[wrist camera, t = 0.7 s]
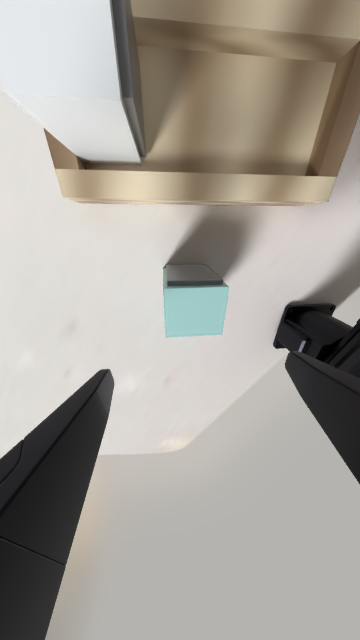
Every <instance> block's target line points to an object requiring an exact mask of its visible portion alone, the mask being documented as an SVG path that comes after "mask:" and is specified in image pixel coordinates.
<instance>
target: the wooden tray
mask: <svg viewBox="0 0 360 640" xmlns="http://www.w3.org/2000/svg"><path fill="white" fill-rule="evenodd" d="M131 7H132V14H133V22H134V29H135V36H136V43H137V50H138V57H139V64H140V77H141V91H142V104H143V118H144V132H145V146H146V157H141V161H142V165H122V164H90V163H84V162H83V161H82V160H81V159H80V158H78V157H77V156H76V155H75V154H74V153H73V152H71V151H70V150H69V149H68V148H67V147H66V146H64V145H63V144H62V143H61V142H60V141H59V140H57V139H56V138H55V137H54V136H53V135H52V134H50V133H49V132H48V131H47V130H46V129H45V128H44V131H45V135H46V138H47V142H48V146H49V149H50V153H51V156H52V160H53V164H54V167H55V171H56V175H57V178H58V182H59V185H60V189H61V193H62V196H63V197H64V198H67V199H70V200H73V201H76V202H79V203H103V204H181V205H260V206H304V205H310V204H315V203H321V202H327V201H329V198H330V195H331V192H332V189H333V187H334V184H335V181H336V178H337V175H338V172H339V170H340V167H341V164H342V161H343V158H344V155H345V153H346V150H347V147H348V144H349V141H350V138H351V136H352V133H353V130H354V127H355V124H356V121H357V119H358V116H359V113H360V0H131Z"/></svg>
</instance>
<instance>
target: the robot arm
mask: <svg viewBox="0 0 360 640" xmlns="http://www.w3.org/2000/svg"><path fill="white" fill-rule="evenodd" d="M335 308H336V306H335V305H333V304H308V305H289V306H287V307H286V308H285V311H284V314H283V316H282V319H281V322H280V325H279V328H278V331H277V334H276V337H275V340H274V343H273V346H274V347H275V348H277V349H278V348H287V349H288V350H289V351H290V352H289V353H288V356H287V359H286V362H285V368H286V370H287V372H288V374H289V376H290V377H291V379H292V381H293V383H294V385H295V387H296V388H297V390H298V392H299V394H300V396H301V397H302V399H303V400H304V402H305V403H306V404H307V406H308V408H309V409H310V411H311V412H312V414H313V415H314V417H315V418H316V420H317V421H318V423H319V424H320V425H321V427H322V429H323V430H324V432H325V433H326V435H327V436H328V438H329V439H330V440H331V442H332V444H333V445H334V447H335V448H336V450H337V451H338V452H339V454H340V456H341V457H342V458H343V460H344V462H345V463H346V465H347V466H348V468H349V469H350V470H351V472H352V473H353V475H354V476H355V478H356V479H357V481H358V482H359V484H360V319H359V320H358V321H357V324H356V325H355V326H354V327H351V326H350V325H347V324H346V323H344V322H342V321H340V320H338V319H336V318H334V317H332V314H333V312H334V310H335ZM289 309H290V310H289ZM113 389H114V379H113V376H112V374H111V371H110V369H102V370H100V371H98V372H97V373H96V374H95V375H94V376H93V377H92V378H91V379H89V380H88V381H87V382H86V383H85V384H84V385H83V386H82V387H80V388H79V389H78V390H77V391H76V392H75V393H74V394H73V395H72V396H70V397H69V398H68V399H67V400H66V401H65V402H64V403H63V404H61V405H60V406H59V407H58V408H57V409H56V410H55V411H54V412H53V413H51V414H50V415H49V416H48V417H47V418H46V419H45V420H44V421H42V422H41V423H40V424H39V425H38V426H37V427H36V428H35V429H34V430H32V431H31V432H30V433H29V434H28V435H27V436H26V437H25V438H24V440H21V441H20V442H19V443H18V444H17V445H16V446H14V447H13V448H12V449H11V450H10V451H9V452H8V453H7V454H5V455H4V456H3V457H2V458H1V459H0V640H45V637H46V634H47V630H48V627H49V623H50V620H51V616H52V613H53V609H54V606H55V602H56V599H57V595H58V592H59V588H60V585H61V581H62V577H63V574H64V571H65V567H66V566H65V565H66V563H67V559H68V556H69V553H70V549H71V546H72V542H73V539H74V535H75V532H76V528H77V525H78V522H79V518H80V514H81V511H82V507H83V504H84V501H85V497H86V493H87V490H88V487H89V483H90V480H91V476H92V472H93V469H94V466H95V462H96V459H97V455H98V452H99V448H100V445H101V441H102V438H103V434H104V431H105V427H106V424H107V420H108V416H109V411H110V406H111V400H112V394H113Z"/></svg>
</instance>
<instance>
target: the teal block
mask: <svg viewBox="0 0 360 640" xmlns="http://www.w3.org/2000/svg"><path fill="white" fill-rule="evenodd" d="M228 291H229V286H227V285H226V284H225V283H224V282H223V279H222V278H221V277H220V276H219V275H217V274H216V273H215V272H214V271H213V270H211V269H210V268H209V267H208V266H206V265H205V264H182V265H166V268H163V294H164V314H165V334H166V337H183V336H203V335H222V332H223V325H224V318H225V311H226V304H227V298H228Z"/></svg>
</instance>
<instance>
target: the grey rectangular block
mask: <svg viewBox="0 0 360 640" xmlns="http://www.w3.org/2000/svg"><path fill="white" fill-rule="evenodd" d="M0 85H1V88H2V91H3V93H4V94H5V95H6V96H7V97H8V98H9V99H11V100H12V101H13V102H14V103H15V104H16V105H18V106H19V107H20V108H21V109H22V110H24V111H25V112H26V113H27V114H28V115H29V116H31V117H32V118H33V119H34V120H35V121H36V122H38V123H39V124H40V125H41V126H42V127H43V128H45V129H46V130H47V131H48V132H49V133H50V134H52V135H53V136H54V137H55V138H56V139H57V140H59V141H60V142H61V143H62V144H63V145H64V146H66V147H67V148H68V149H69V150H70V151H71V152H73V153H74V154H75V155H76V156H77V157H78V158H80V159H81V160H82V161H83V162H84V163H90V164H122V165H142V161H141V157H146V146H145V132H144V118H143V104H142V91H141V77H140V64H139V57H138V50H137V43H136V36H135V29H134V22H133V14H132V7H131V0H0Z"/></svg>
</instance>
